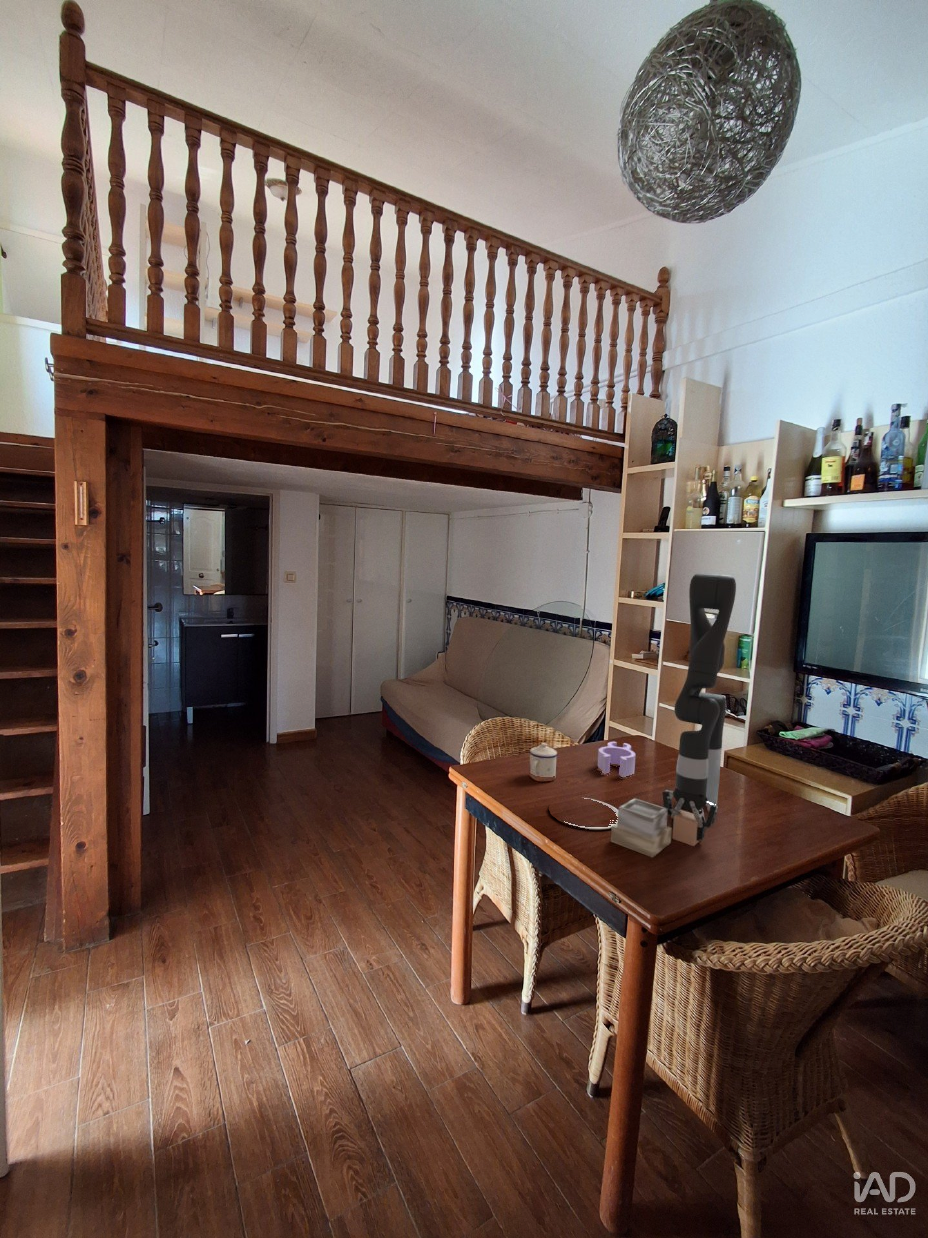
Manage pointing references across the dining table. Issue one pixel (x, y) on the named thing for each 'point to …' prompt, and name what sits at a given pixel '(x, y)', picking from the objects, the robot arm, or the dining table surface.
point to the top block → (685, 828)
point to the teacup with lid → (543, 761)
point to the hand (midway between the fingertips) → (687, 835)
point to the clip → (617, 758)
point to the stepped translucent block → (642, 827)
